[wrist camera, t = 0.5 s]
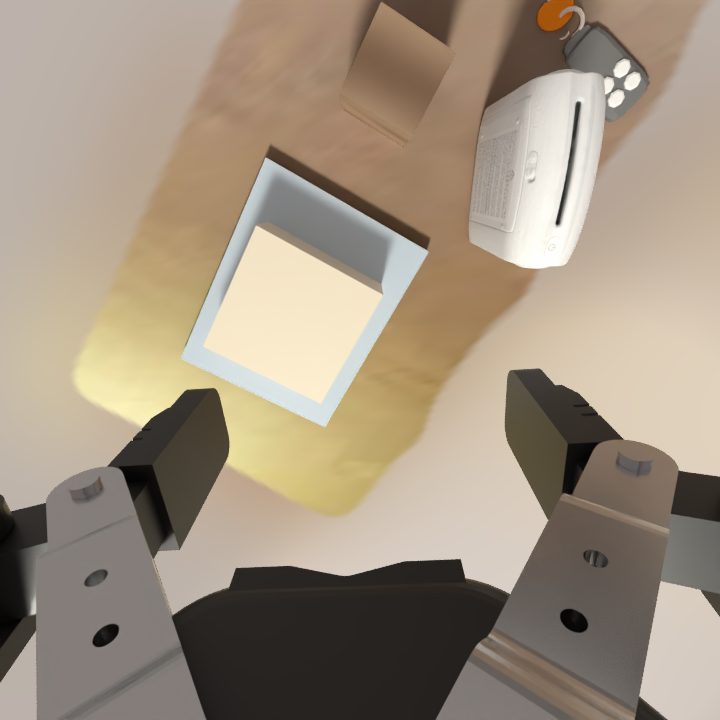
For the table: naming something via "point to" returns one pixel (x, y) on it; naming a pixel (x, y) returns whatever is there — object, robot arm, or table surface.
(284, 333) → the butter dish
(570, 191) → the photo printer
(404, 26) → the walnut block
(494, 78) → the table surface
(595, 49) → the key chain
